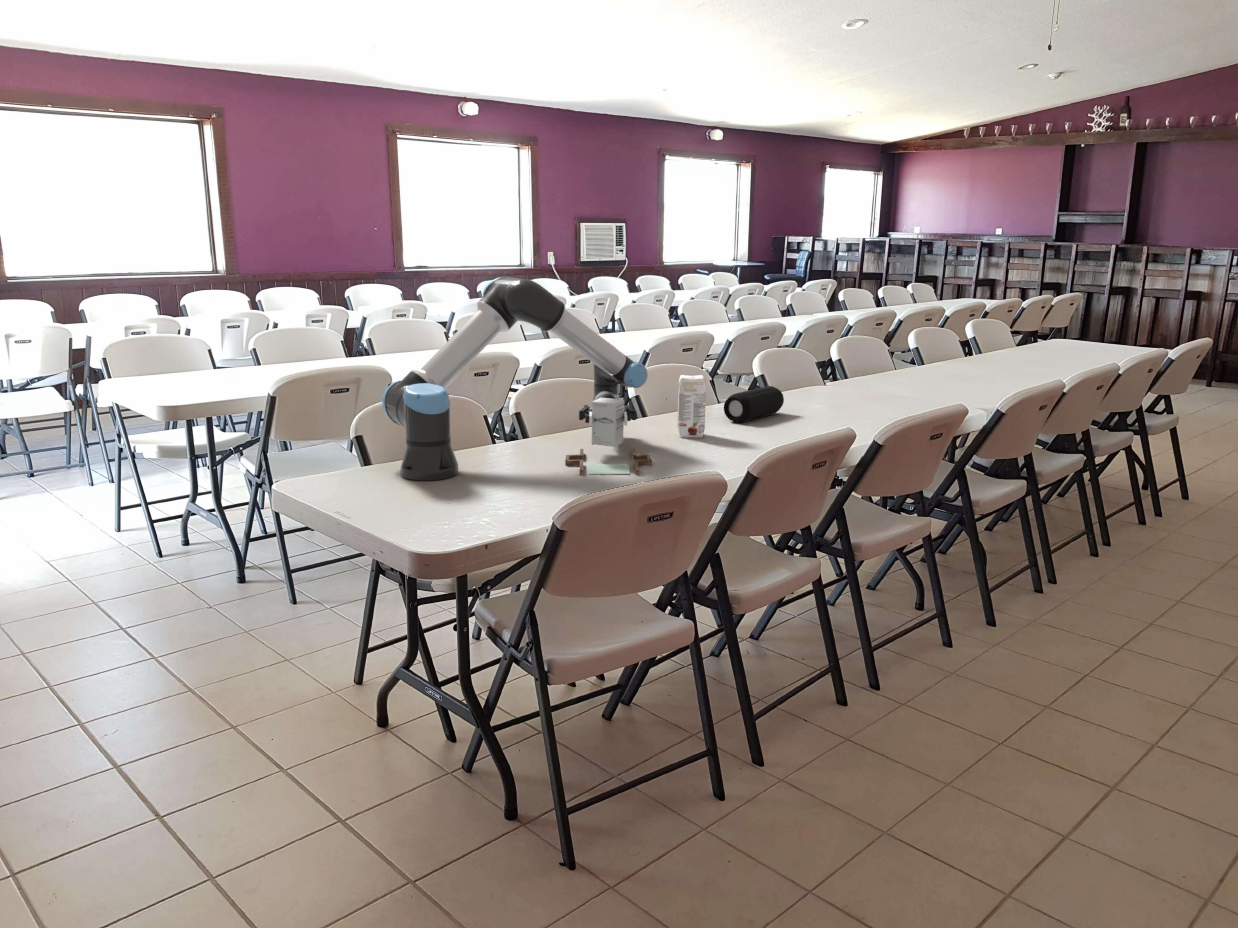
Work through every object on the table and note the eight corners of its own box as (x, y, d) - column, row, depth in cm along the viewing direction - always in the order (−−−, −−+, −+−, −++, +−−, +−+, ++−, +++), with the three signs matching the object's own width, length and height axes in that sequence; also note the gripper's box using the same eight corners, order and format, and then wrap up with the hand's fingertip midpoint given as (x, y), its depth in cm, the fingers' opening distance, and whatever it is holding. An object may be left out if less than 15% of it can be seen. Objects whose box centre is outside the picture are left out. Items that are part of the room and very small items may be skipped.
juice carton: (705, 438, 297) (706, 378, 292) (677, 438, 297) (679, 378, 292) (703, 433, 304) (705, 374, 299) (676, 432, 304) (678, 374, 299)
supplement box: (590, 445, 268) (590, 401, 265) (600, 439, 275) (600, 396, 272) (615, 447, 266) (615, 403, 262) (624, 442, 272) (624, 398, 269)
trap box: (564, 475, 252) (564, 469, 252) (566, 453, 276) (566, 448, 275) (654, 475, 253) (654, 469, 253) (648, 453, 277) (648, 448, 276)
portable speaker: (761, 411, 341) (762, 383, 338) (785, 414, 335) (786, 386, 332) (720, 421, 322) (721, 392, 320) (745, 425, 316) (746, 396, 313)
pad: (588, 474, 253) (588, 473, 253) (588, 465, 263) (588, 464, 263) (630, 474, 254) (630, 473, 254) (628, 465, 263) (628, 464, 263)
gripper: (642, 418, 287) (647, 434, 265) (570, 418, 286) (569, 434, 265) (642, 393, 285) (647, 407, 263) (570, 393, 284) (569, 407, 263)
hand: (608, 420), depth 264 cm, fingers closed on supplement box, 9 cm apart
